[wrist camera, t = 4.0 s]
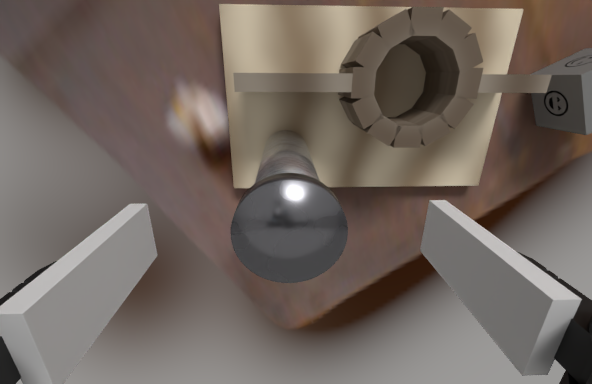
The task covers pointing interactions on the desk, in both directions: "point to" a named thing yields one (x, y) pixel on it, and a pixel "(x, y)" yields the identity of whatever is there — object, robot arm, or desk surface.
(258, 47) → the hinge board
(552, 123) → the dice cube
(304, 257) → the pin
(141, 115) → the desk surface
